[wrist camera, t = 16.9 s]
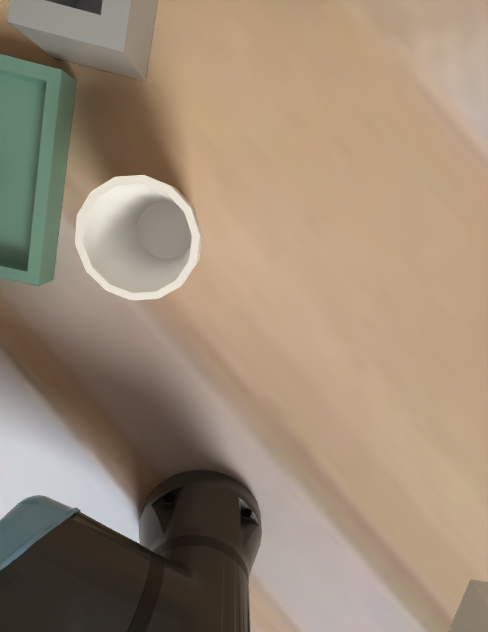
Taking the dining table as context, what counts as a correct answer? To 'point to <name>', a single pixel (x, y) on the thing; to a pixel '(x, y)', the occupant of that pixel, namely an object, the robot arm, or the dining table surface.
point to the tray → (32, 166)
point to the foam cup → (138, 237)
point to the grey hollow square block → (90, 31)
